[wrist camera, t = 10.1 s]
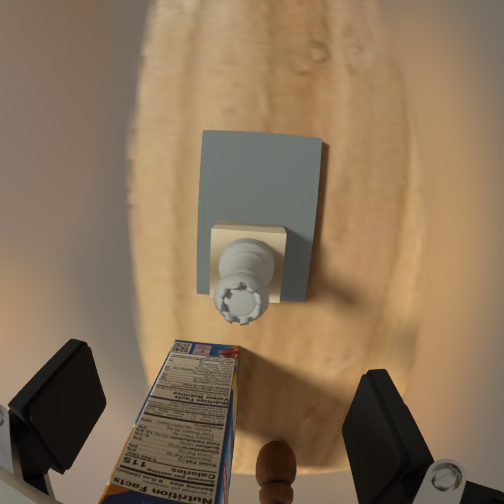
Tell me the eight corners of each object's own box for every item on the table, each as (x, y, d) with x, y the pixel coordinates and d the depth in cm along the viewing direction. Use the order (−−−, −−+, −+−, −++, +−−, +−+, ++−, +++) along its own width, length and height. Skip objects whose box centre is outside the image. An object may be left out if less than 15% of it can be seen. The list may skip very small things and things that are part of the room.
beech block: (218, 221, 27) (211, 228, 23) (282, 225, 26) (286, 233, 23) (216, 281, 28) (209, 297, 24) (277, 286, 28) (279, 303, 24)
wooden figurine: (289, 459, 37) (294, 534, 22) (254, 457, 37) (251, 533, 23) (297, 436, 35) (306, 520, 21) (259, 435, 35) (256, 521, 21)
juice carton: (237, 414, 34) (219, 575, 11) (183, 408, 34) (138, 558, 11) (239, 344, 31) (210, 557, 8) (175, 338, 31) (89, 523, 8)
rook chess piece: (275, 236, 23) (282, 267, 15) (273, 289, 24) (278, 340, 16) (219, 236, 23) (197, 266, 15) (220, 288, 24) (202, 338, 16)
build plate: (205, 131, 25) (203, 130, 24) (319, 140, 25) (322, 138, 24) (198, 289, 29) (196, 293, 29) (303, 297, 29) (305, 301, 28)
